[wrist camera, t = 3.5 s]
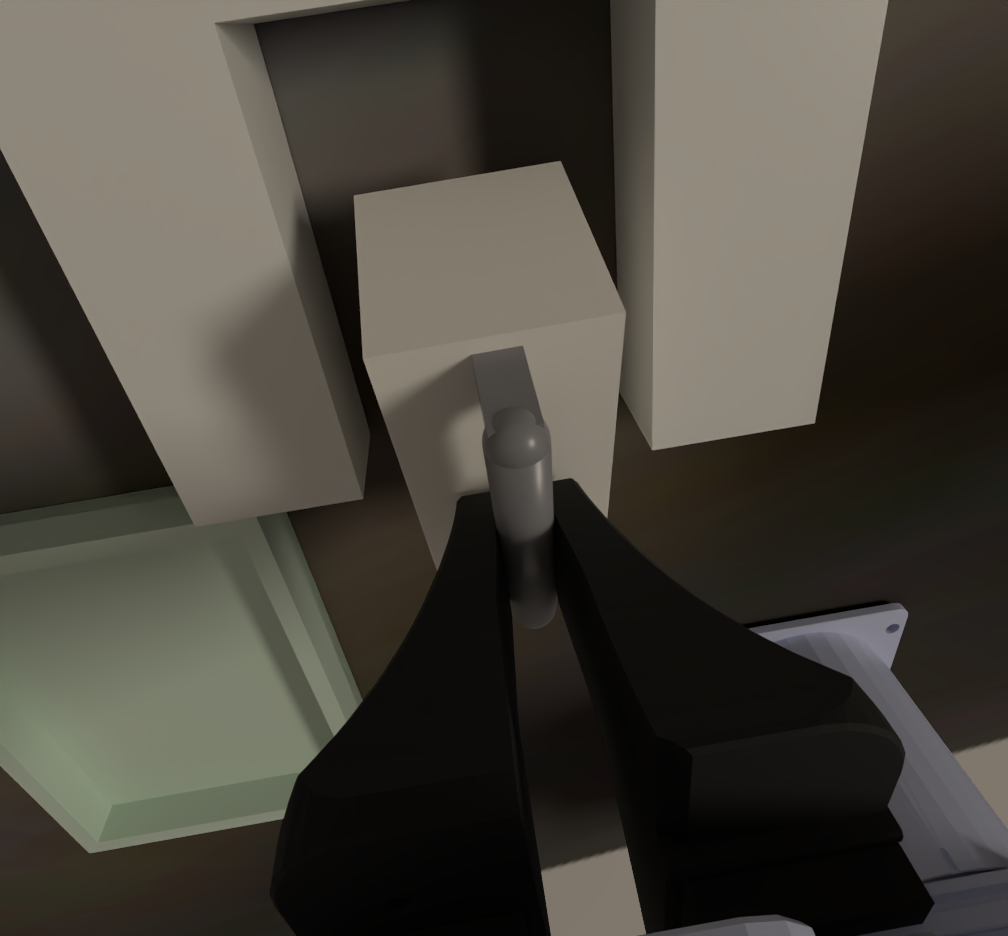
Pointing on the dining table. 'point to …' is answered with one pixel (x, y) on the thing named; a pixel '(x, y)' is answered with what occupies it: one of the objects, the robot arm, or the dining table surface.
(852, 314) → the dining table surface
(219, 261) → the bay
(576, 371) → the block with grey handle
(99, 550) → the tray
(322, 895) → the robot arm
